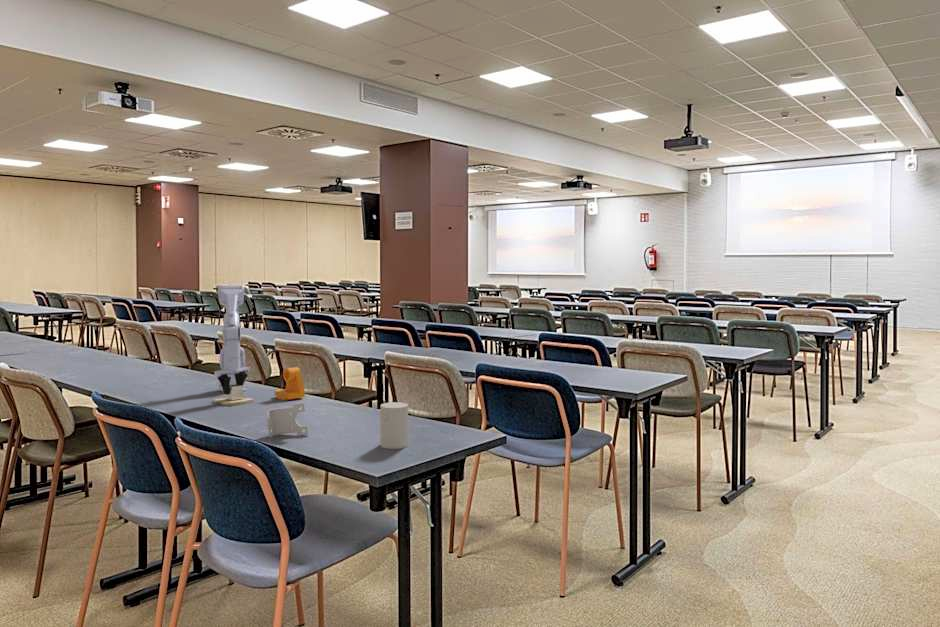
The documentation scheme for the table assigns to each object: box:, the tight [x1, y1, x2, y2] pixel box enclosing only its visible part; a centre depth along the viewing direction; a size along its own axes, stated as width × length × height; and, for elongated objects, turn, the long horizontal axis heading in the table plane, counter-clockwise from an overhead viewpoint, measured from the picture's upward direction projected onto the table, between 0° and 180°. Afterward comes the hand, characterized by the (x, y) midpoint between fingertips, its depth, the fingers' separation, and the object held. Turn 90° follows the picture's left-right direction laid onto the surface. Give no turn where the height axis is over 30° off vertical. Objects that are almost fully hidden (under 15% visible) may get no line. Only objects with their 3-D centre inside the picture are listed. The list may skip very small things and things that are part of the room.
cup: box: [379, 401, 409, 450], centre depth 207 cm, size 8×8×12 cm
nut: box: [223, 384, 244, 400], centre depth 266 cm, size 5×5×5 cm
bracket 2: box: [265, 402, 310, 438], centre depth 216 cm, size 11×4×10 cm, turn 82°
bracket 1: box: [274, 366, 306, 401], centre depth 275 cm, size 11×7×12 cm, turn 46°
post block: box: [211, 396, 255, 407], centre depth 267 cm, size 12×10×6 cm
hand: (232, 393), depth 266 cm, fingers open, 5 cm apart
